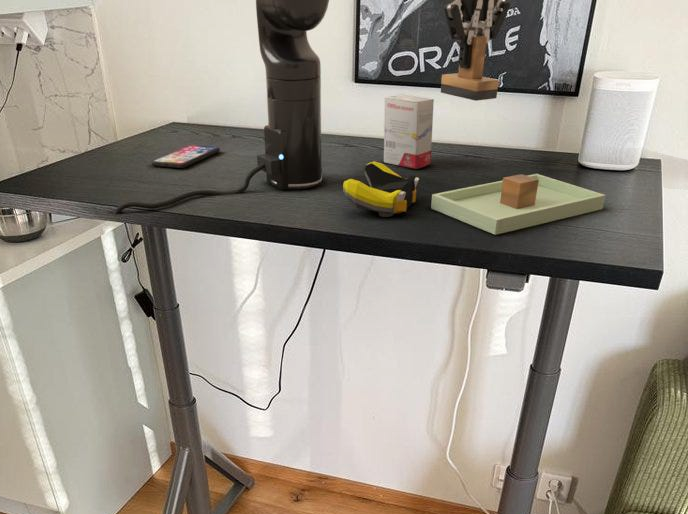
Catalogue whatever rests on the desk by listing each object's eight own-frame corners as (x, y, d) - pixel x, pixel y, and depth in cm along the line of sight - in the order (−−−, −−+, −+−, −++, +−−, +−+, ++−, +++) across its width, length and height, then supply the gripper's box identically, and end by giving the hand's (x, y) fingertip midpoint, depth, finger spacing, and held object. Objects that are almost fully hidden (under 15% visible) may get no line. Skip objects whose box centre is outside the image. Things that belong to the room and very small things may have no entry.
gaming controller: (338, 216, 117) (398, 223, 114) (338, 181, 114) (400, 187, 111) (367, 191, 128) (422, 197, 126) (368, 158, 125) (425, 163, 122)
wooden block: (516, 209, 118) (520, 183, 115) (499, 202, 120) (503, 177, 118) (534, 205, 119) (539, 179, 117) (517, 199, 122) (521, 174, 119)
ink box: (431, 165, 142) (436, 98, 135) (414, 170, 139) (419, 102, 132) (398, 157, 147) (401, 92, 140) (381, 162, 145) (383, 96, 137)
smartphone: (149, 161, 142) (189, 144, 153) (150, 166, 143) (190, 149, 154) (182, 164, 140) (220, 146, 151) (183, 169, 140) (221, 151, 151)
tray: (495, 235, 110) (497, 219, 109) (430, 208, 121) (431, 194, 119) (602, 209, 120) (605, 194, 118) (534, 186, 130) (536, 173, 129)
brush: (475, 100, 131) (482, 39, 125) (440, 92, 137) (445, 33, 132) (496, 98, 133) (504, 37, 127) (460, 90, 139) (466, 32, 134)
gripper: (499, -51, 127) (485, 62, 138) (437, -51, 121) (427, 67, 132) (529, -50, 122) (513, 67, 133) (466, -50, 116) (454, 73, 127)
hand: (470, 67), depth 132 cm, fingers closed on brush, 2 cm apart
